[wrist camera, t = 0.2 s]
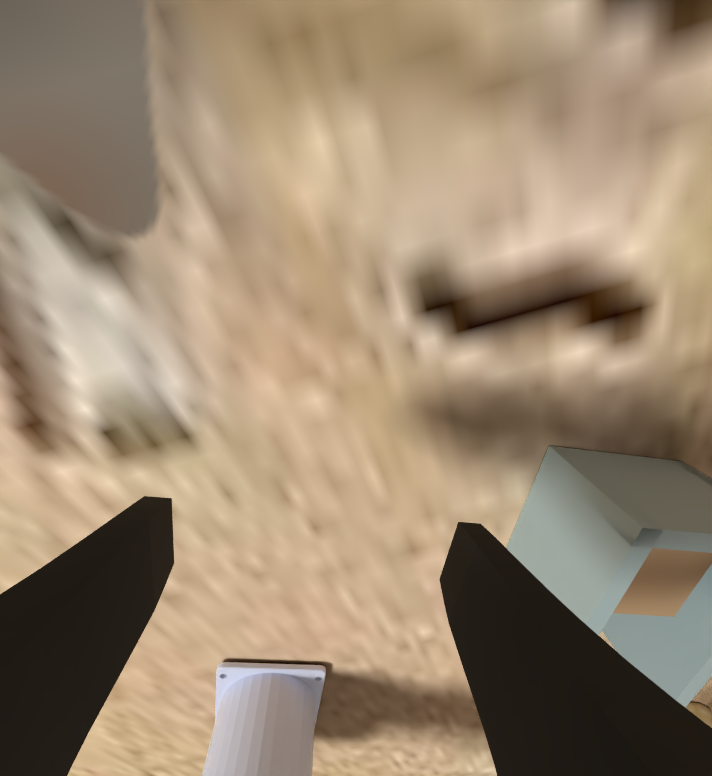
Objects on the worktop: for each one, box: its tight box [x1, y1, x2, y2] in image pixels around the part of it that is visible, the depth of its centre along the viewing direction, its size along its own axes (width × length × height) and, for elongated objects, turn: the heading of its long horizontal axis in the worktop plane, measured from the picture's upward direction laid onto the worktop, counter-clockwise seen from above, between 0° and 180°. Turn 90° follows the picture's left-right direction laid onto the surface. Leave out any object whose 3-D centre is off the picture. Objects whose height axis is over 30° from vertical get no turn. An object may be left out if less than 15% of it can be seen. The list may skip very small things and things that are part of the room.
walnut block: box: [613, 548, 712, 617], centre depth 22 cm, size 18×5×5 cm, turn 171°
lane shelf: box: [506, 446, 712, 707], centre depth 20 cm, size 13×9×6 cm
